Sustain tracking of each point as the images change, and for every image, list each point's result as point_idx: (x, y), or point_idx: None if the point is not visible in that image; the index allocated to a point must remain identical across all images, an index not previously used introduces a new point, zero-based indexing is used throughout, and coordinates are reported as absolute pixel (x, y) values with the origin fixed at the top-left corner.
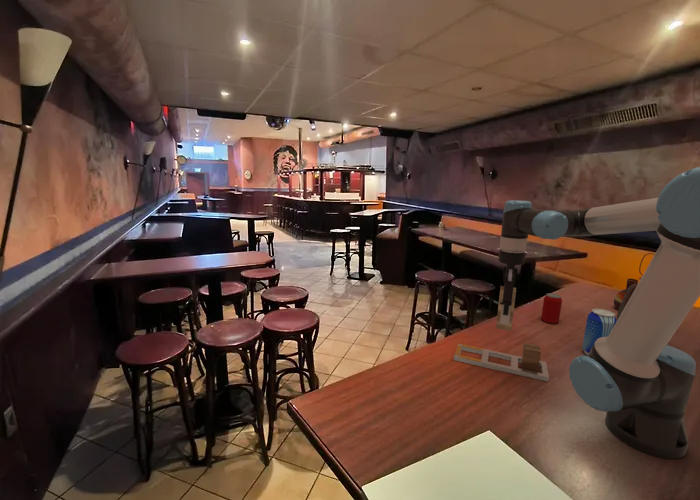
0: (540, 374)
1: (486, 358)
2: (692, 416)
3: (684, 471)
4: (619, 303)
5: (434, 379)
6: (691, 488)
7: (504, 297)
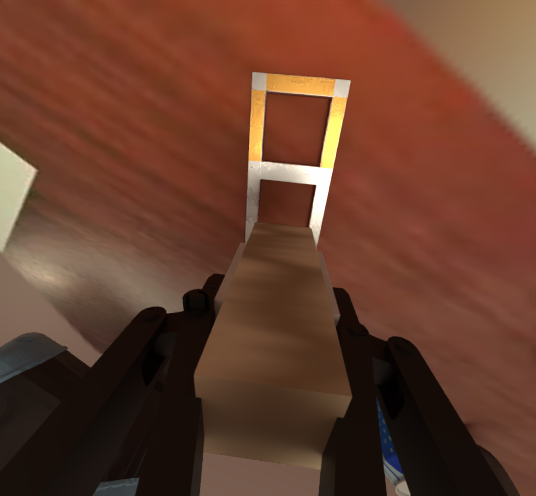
0: None
1: (275, 176)
2: None
3: None
4: None
5: (120, 20)
6: None
7: (108, 356)
